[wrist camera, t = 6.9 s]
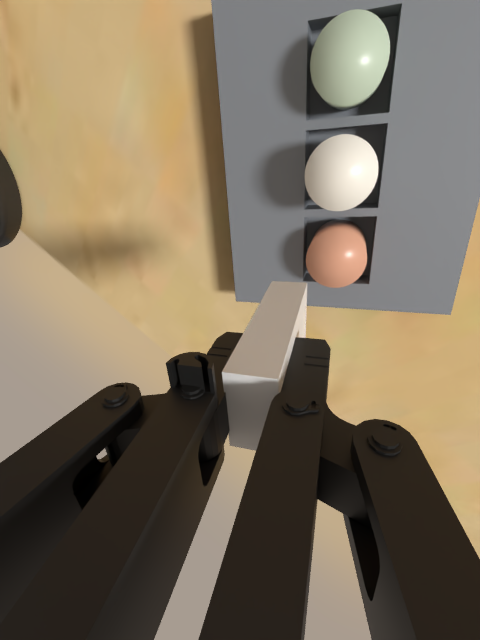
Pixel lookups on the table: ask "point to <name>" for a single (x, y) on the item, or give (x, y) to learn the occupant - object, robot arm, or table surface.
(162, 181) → the table surface
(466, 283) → the table surface
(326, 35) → the sage button
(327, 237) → the terracotta button
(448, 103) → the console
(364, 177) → the white egg
